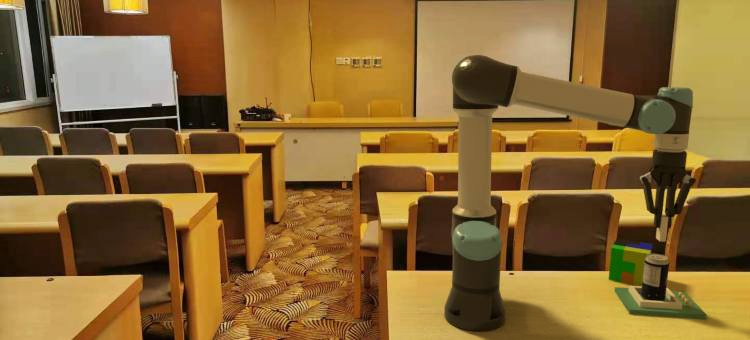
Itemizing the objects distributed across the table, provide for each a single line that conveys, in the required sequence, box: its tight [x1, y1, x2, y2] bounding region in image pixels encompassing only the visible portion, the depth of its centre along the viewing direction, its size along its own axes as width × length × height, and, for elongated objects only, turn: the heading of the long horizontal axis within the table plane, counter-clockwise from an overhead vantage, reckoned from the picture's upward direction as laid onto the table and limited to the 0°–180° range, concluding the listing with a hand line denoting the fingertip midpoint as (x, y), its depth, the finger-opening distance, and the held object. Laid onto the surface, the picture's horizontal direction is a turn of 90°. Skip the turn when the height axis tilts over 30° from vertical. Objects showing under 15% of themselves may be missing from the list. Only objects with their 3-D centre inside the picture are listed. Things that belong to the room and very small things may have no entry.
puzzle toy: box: [608, 238, 654, 286], centre depth 158 cm, size 10×10×10 cm
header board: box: [614, 285, 708, 320], centre depth 141 cm, size 18×14×3 cm
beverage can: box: [641, 253, 670, 301], centre depth 140 cm, size 6×6×12 cm
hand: (660, 239), depth 138 cm, fingers closed
